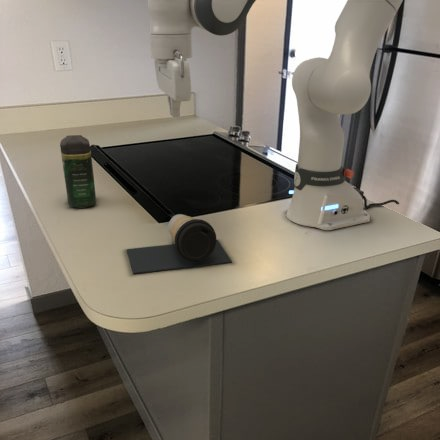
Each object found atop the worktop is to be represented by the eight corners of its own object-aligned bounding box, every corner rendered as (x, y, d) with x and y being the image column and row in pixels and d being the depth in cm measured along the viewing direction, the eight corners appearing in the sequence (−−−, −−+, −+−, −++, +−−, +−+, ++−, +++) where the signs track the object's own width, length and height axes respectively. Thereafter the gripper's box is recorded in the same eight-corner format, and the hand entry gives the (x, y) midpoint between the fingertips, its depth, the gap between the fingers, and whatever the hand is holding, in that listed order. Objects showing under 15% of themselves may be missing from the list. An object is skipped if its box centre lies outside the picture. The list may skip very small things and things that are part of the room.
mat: (217, 241, 119) (217, 239, 119) (231, 262, 109) (231, 261, 109) (126, 250, 113) (126, 249, 113) (133, 274, 103) (133, 272, 103)
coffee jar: (97, 207, 137) (89, 140, 127) (68, 210, 135) (58, 141, 125) (96, 196, 145) (88, 132, 135) (68, 198, 143) (58, 133, 133)
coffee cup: (199, 207, 117) (220, 221, 104) (197, 245, 121) (217, 263, 107) (161, 206, 114) (178, 221, 101) (159, 245, 117) (175, 264, 104)
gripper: (197, 52, 97) (199, 124, 104) (176, 44, 114) (178, 107, 121) (166, 53, 95) (170, 126, 103) (149, 45, 112) (153, 108, 119)
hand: (174, 115), depth 112 cm, fingers closed
